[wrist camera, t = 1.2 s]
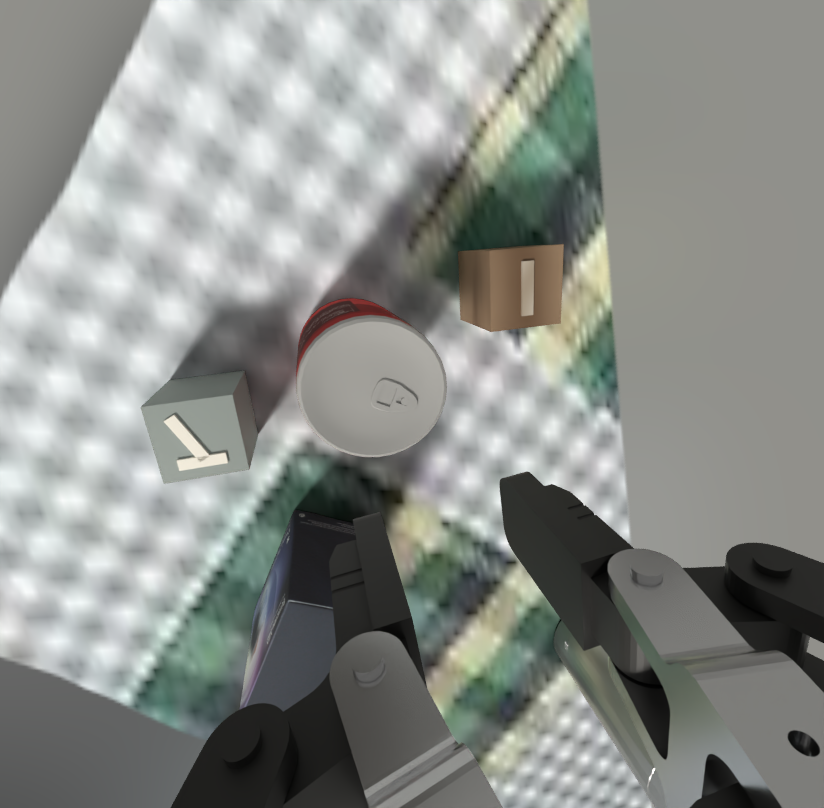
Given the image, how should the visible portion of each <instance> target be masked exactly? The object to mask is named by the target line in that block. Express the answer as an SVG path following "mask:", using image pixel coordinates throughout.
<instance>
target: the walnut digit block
mask: <svg viewBox="0 0 824 808" xmlns="http://www.w3.org/2000/svg"><path fill="white" fill-rule="evenodd" d="M563 248H564V244H559V245H535V246H516V247H504V248H492V249H480V250H468V251H458V264H459V290H460V316H461V320H463V321H466V322H468V323H471V324H473V325H475V326H478V327H480V328H483V329H485V330H488V331H490V332H494V331H502V330H510V329H518V328H526V327H534V326H542V325H551V324H559V323H561V300H562V274H563Z"/></svg>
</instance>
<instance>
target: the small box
mask: <svg viewBox="0 0 824 808" xmlns="http://www.w3.org/2000/svg"><path fill="white" fill-rule="evenodd" d="M353 540H356V535H355V530H354V524H353V523H350V522H347V521H341V520H337V519H333V518H329V517H325V516H321V515H317V514H316V513H310V512H305V511H299V510H294V512H293V514H292V516H291V519H290V521H289V524H288V526H287V529H286V531H285V534H284V537H283V539H282V541H281V544H280V547H279V549H278V552H277V554H276V557H275V559H274V562H273V564H272V567H271V569H270V572H269V574H268V577H267V579H266V582H265V584H264V587H263V589H262V592H261V594H260V597H259V600H258V602H257V605H256V607H255V612H254V618H253V624H252V631H251V638H250V644H249V651H248V658H247V664H246V670H245V677H244V684H243V691H242V698H241V705H240V709H242V708H244V707H247V706H249V705H253V704H258V703H267V704H272V705H275V706H277V707H278V708H280V709H281V710H282V711H283V712H284V711H285V710H287V709H288V708H290V707H291V706H293V705H294V704H295V703H297V702H298V701H300V700H301V699H303V698H304V697H306V696H307V695H309V694H310V693H311V692H313V691H314V690H315V689H316V688H317V687H318V686H319V685H320V684H321V683H322V682H323V680H324V679H325V678H326V676H327V675H328V673H329V672H330V667H331V664H332V661H333V659H334V657H335V655H336V639H335V627H334V615H333V603H332V591H331V578H330V567H329V560H330V558H331V556H332V554H333V551H334V549H335V547H336V545H339V544H342V543H346V542H349V541H353Z"/></svg>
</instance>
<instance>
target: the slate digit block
mask: <svg viewBox="0 0 824 808" xmlns="http://www.w3.org/2000/svg"><path fill="white" fill-rule="evenodd" d="M141 410H142V413H143V417H144V420H145V423H146V426H147V430H148V433H149V436H150V440H151V443H152V446H153V450H154V453H155V456H156V459H157V463H158V466H159V469H160V473H161V476H162V479H163V483H164V484H166V483H172V482H178V481H184V480H190V479H196V478H202V477H208V476H214V475H220V474H226V473H232V472H238V471H244V470H249V469H250V465H251V461H252V457H253V453H254V449H255V445H256V441H257V437H258V431H257V426H256V421H255V416H254V412H253V407H252V402H251V398H250V393H249V388H248V383H247V379H246V374H245V370H244V371H236V372H228V373H220V374H212V375H205V376H197V377H189V378H181V379H173V380H169V381H168V382H167V383H166V384H165V385H164V386H163V387H162V388H161V389H160V390H159V391H157V392H156V393H155V394H154V395H153V396H152V397H151V398H150V399H149V400H148V401H147V402H146V403H145V404H143V405H142V406H141Z"/></svg>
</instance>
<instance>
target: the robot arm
mask: <svg viewBox="0 0 824 808" xmlns="http://www.w3.org/2000/svg"><path fill="white" fill-rule="evenodd" d="M500 494H501V504H502V513H503V523H504V530H505V534H506V537H507V540H508V543H509V545H510V547H511V549H512V550H513V552H514V553H515V555H516V556H517V558H518V559H519V560H520V562H521V563H522V565H523V566H524V567H525V569H526V570H527V572H528V573H529V574H530V576H531V577H532V579H533V580H534V582H535V583H536V584H537V586H538V587H539V589H540V590H541V591H542V593H543V594H544V596H545V597H546V598H547V600H548V601H549V603H550V604H551V606H552V607H553V608H554V610H555V611H556V613H557V614H558V615H559V617H560V618H561V622H560V623H559V625H558V627H557V629H556V631H555V635H554V647H555V651H556V653H557V654H558V656H559V657H560V659H561V661H562V662H563V664H564V665H565V667H566V668H567V670H568V672H569V673H570V675H571V676H572V678H573V680H574V681H575V683H576V684H577V686H578V688H579V689H580V691H581V692H582V694H583V696H584V697H585V699H586V700H587V702H588V703H589V705H590V707H591V708H592V710H593V711H594V713H595V714H596V716H597V718H598V719H599V721H600V722H601V724H602V725H603V727H604V729H605V730H606V732H607V733H608V735H609V736H610V738H611V740H612V741H613V743H614V744H615V746H616V747H617V749H618V751H619V752H620V754H621V755H622V757H623V758H624V760H625V762H626V763H627V765H628V766H629V768H630V769H631V771H632V773H633V774H634V776H635V777H636V779H637V780H638V782H639V784H640V785H641V787H642V788H643V790H644V791H645V793H646V795H647V796H648V798H649V799H650V800H651V802H652V804H653V805H654V807H655V808H824V661H823V660H821V659H819V658H817V657H815V656H813V655H811V654H809V653H807V647H808V643H809V638H810V637H812V638H814V639H816V640H818V641H820V642H823V643H824V563H821V562H819V561H816V560H813V559H810V558H808V557H805V556H803V555H800V554H797V553H795V552H791V551H789V550H786V549H784V548H781V547H777V546H773V545H769V544H763V543H744V544H739V545H736V546H734V547H732V548H731V549H730V550H729V551H728V553H727V555H726V563H725V566H723V567H700V568H682V567H681V566H680V565H679V564H678V563H677V562H675V561H674V560H673V559H671V558H669V557H667V556H666V555H663V554H661V553H658V552H655V551H651V550H646V549H634V548H633V547H632V546H631V545H630V544H628V543H627V542H626V541H625V540H624V539H623V538H622V537H620V536H619V535H618V534H617V533H616V532H615V531H614V530H613V529H611V528H610V527H609V526H608V525H607V524H606V523H605V522H604V521H602V520H601V519H600V518H599V517H598V516H597V515H594V513H593V512H592V511H591V510H590V509H589V508H588V507H587V506H584V505H583V503H582V502H581V501H580V500H579V499H578V498H576V497H575V496H574V495H573V494H572V493H571V492H569V491H567V490H564V489H562V488H560V487H557V486H555V485H553V484H551V485H548V486H543V485H542V484H541V483H540V482H539V481H538V480H537V479H536V478H535V477H534V476H533V475H532V474H531V473H530V472H524V473H520V474H516V475H513V476H509V477H506V478H502V479H501V480H500ZM353 524H354V530H355V535H356V540H353V541H349V542H346V543H342V544H339V545H336V547H335V549H334V551H333V554H332V556H331V558H330V560H329V567H330V578H331V591H332V603H333V615H334V627H335V639H336V655H335V657H334V659H333V661H332V664H331V667H330V672H329V673H328V675H327V676H326V678H325V679H324V680H323V682H322V683H321V684H320V685H319V686H318V687H317V688H316V689H315V690H314V691H313V692H311V693H310V694H309V695H307V696H306V697H304V698H303V699H301V700H300V701H298V702H297V703H295V704H294V705H293V706H291V707H290V708H288V709H287V710H285V711H284V712H283V711H282V710H281V709H280V708H278V707H277V706H275V705H272V704H267V703H258V704H253V705H249V706H247V707H244V708H242V709H240V710H238V711H236V712H235V713H233V714H232V715H230V716H229V717H228V718H227V719H225V720H224V721H223V722H222V723H221V724H220V725H219V726H218V727H217V728H216V729H215V730H214V732H213V733H212V734H211V736H210V737H209V738H208V740H207V742H206V743H205V745H204V747H203V749H202V750H201V752H200V754H199V756H198V758H197V760H196V762H195V763H194V765H193V767H192V769H191V771H190V773H189V775H188V777H187V778H186V780H185V782H184V784H183V786H182V788H181V789H180V792H179V793H178V795H177V797H176V799H175V801H174V802H173V804H172V807H171V808H503V807H502V806H501V804H500V802H499V800H498V798H497V797H496V795H495V793H494V791H493V789H492V788H491V786H490V784H489V782H488V781H487V779H486V777H485V775H484V773H483V772H482V770H481V768H480V766H479V765H478V763H477V761H476V759H475V758H474V756H473V755H472V753H471V752H470V750H469V749H468V747H467V746H466V745H465V744H464V743H460V744H458V743H457V742H456V740H455V739H454V737H453V736H452V734H451V732H450V730H449V728H448V726H447V725H446V723H445V721H444V719H443V717H442V715H441V713H440V712H439V710H438V708H437V706H436V704H435V702H434V701H433V699H432V697H431V695H430V693H429V691H428V689H427V686H426V681H425V676H424V672H423V667H422V662H421V658H420V653H419V648H418V644H417V639H416V634H415V630H414V625H413V620H412V616H411V613H410V609H409V606H408V603H407V599H406V596H405V593H404V589H403V586H402V583H401V579H400V576H399V573H398V569H397V566H396V563H395V559H394V556H393V553H392V549H391V546H390V543H389V539H388V536H387V533H386V529H385V526H384V523H383V519H382V516H381V513H380V512H378V513H374V514H370V515H367V516H363V517H360V518H356V519H353Z"/></svg>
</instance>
